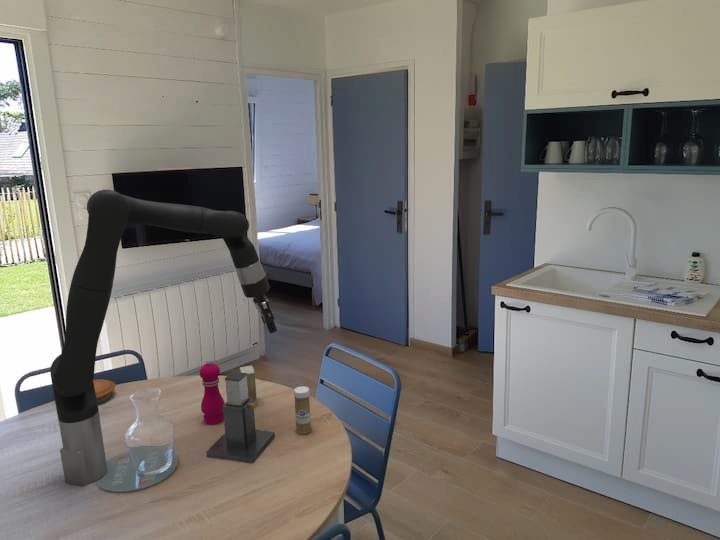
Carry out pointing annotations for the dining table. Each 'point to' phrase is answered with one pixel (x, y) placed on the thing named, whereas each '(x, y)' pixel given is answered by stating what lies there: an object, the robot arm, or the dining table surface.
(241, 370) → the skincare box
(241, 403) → the post
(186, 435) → the dining table surface
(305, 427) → the sprinkles bottle
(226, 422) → the base
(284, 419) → the dining table surface
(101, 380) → the pie
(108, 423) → the dining table surface
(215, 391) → the pepper mill
